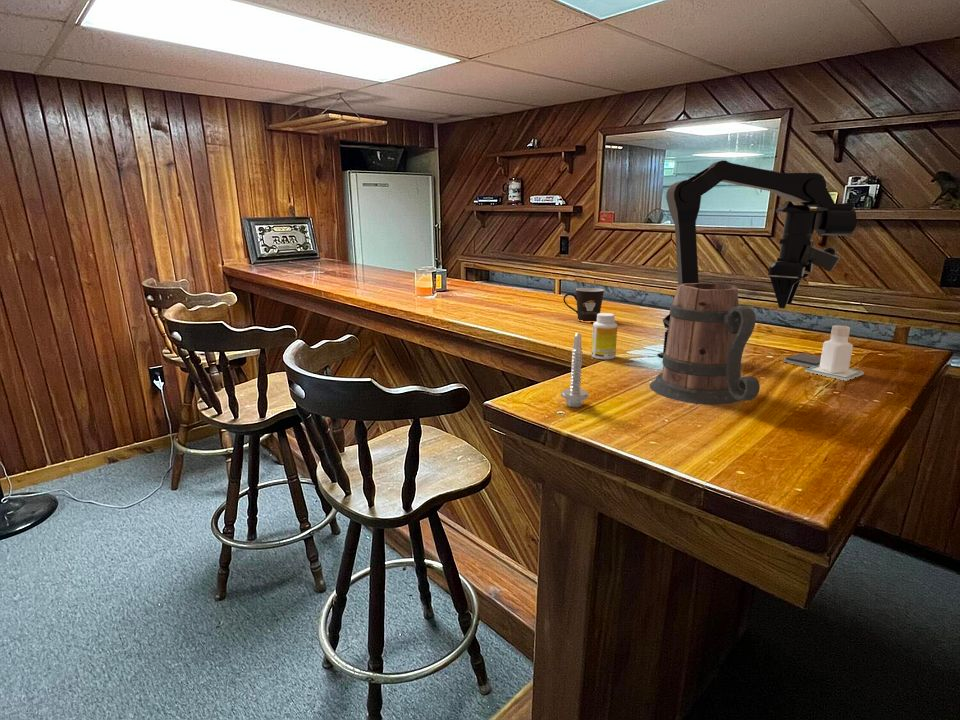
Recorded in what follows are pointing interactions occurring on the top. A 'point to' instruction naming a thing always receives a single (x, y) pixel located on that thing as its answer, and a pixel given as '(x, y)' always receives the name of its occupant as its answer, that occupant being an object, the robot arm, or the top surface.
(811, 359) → the pad
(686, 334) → the tankard
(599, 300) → the coffee mug
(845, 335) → the pepper shaker
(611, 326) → the supplement bottle
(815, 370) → the print card
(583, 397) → the screw
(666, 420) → the top surface
